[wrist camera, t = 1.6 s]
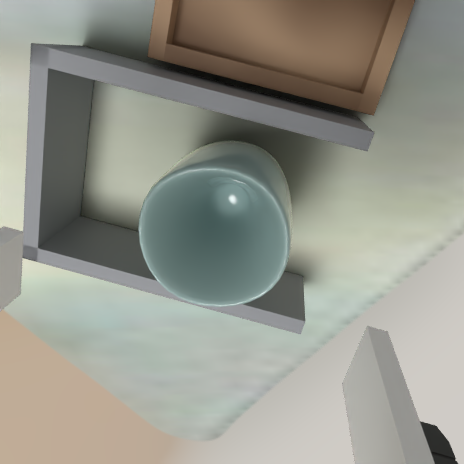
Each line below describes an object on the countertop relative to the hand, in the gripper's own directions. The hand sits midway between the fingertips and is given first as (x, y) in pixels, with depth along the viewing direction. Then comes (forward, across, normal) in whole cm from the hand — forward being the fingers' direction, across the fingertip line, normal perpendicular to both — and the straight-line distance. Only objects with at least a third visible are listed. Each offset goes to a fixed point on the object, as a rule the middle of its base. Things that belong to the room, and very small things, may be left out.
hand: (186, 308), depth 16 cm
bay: (+16, -2, 0) cm, 16 cm away
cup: (+16, 0, 0) cm, 16 cm away
